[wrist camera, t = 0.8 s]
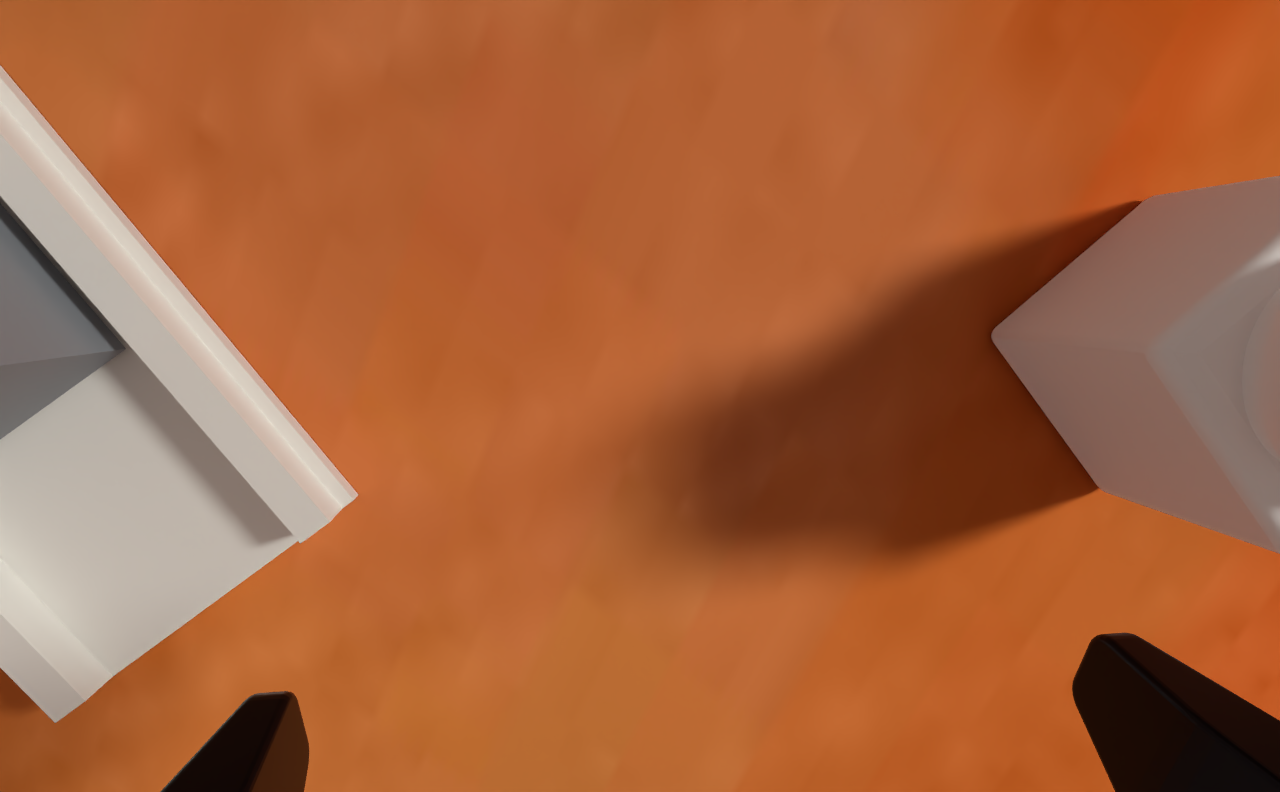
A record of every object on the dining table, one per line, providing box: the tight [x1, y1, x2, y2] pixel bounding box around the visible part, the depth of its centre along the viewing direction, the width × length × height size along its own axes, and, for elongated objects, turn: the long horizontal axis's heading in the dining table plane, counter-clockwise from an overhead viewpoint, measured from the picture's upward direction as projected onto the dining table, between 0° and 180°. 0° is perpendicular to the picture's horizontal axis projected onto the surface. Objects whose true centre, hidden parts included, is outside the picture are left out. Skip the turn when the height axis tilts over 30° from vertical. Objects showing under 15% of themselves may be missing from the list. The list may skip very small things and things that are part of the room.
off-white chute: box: [0, 66, 358, 723], centre depth 21 cm, size 15×10×2 cm, turn 36°
